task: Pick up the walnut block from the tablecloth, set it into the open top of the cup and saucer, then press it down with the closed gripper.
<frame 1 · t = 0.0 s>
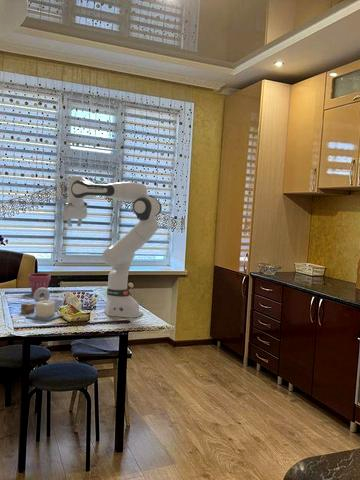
hand: (74, 226, 265), 48 cm above the table, tool pointing down, fingers open, 8 cm apart
donut: (41, 304, 270), on the table
plant pot: (39, 293, 298), on the table
walnut block: (27, 312, 248), on the table
cup and saucer: (45, 317, 240), on the table
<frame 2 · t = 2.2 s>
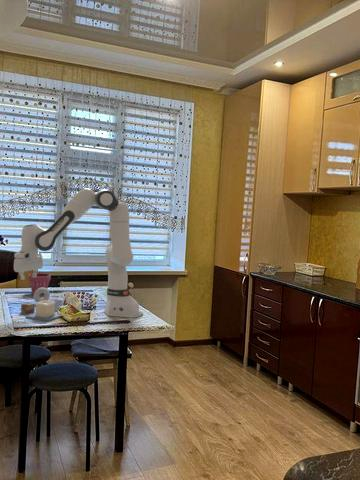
hand: (28, 278, 246), 19 cm above the table, tool pointing down, fingers open, 8 cm apart
nothing on the table moved.
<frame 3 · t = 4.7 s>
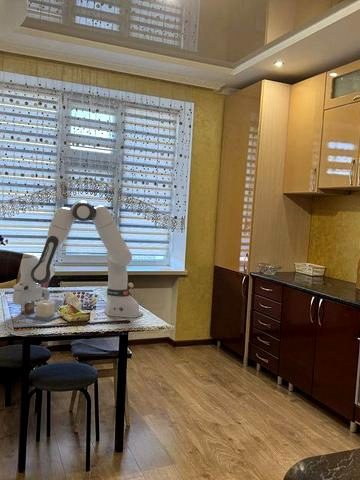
hand: (27, 309, 247), 2 cm above the table, tool pointing down, fingers closed on walnut block, 5 cm apart
walnut block: (27, 312, 247), on the table, touching gripper
everything else where it was.
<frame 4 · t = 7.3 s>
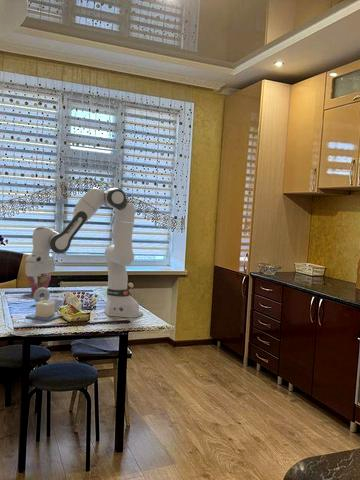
hand: (40, 282, 241), 18 cm above the table, tool pointing down, fingers closed on walnut block, 5 cm apart
walnut block: (40, 285, 242), point 17 cm above the table, touching gripper
everything else where it was.
when the fingers open (9 cm above the table, at t = 9.9 s): walnut block stays where it is, resting on cup and saucer.
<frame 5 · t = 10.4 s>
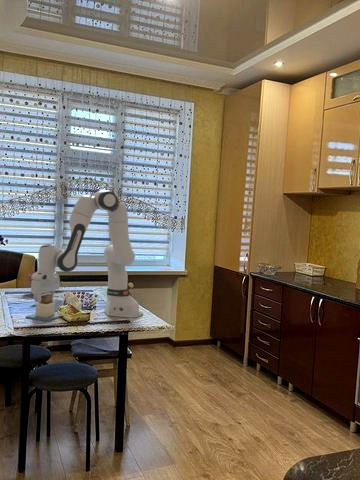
hand: (45, 299, 239), 9 cm above the table, tool pointing down, fingers open, 8 cm apart
walnut block: (45, 304, 239), point 7 cm above the table, touching cup and saucer
everything else where it was.
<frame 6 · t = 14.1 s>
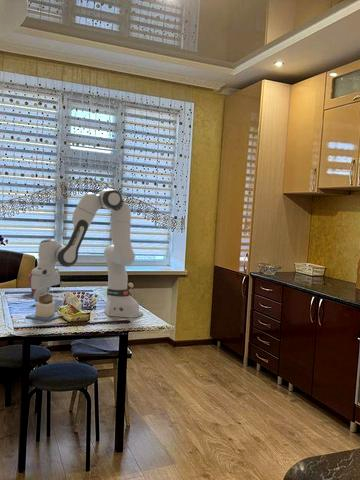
hand: (45, 295, 239), 12 cm above the table, tool pointing down, fingers closed, pressing on walnut block
walnut block: (45, 304, 239), point 7 cm above the table, touching cup and saucer, gripper
everything else where it was.
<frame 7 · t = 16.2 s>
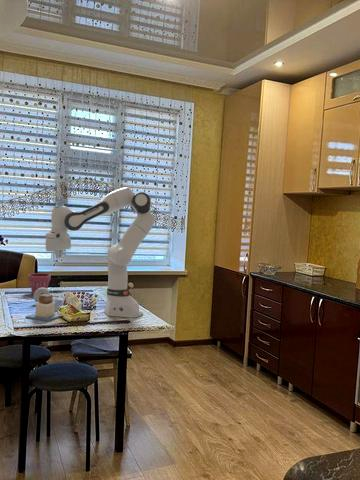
hand: (58, 257, 257), 30 cm above the table, tool pointing down, fingers closed
walnut block: (45, 304, 239), point 7 cm above the table, touching cup and saucer
everything else where it was.
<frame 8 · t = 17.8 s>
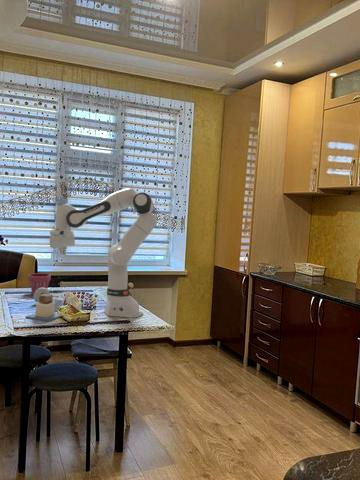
hand: (62, 254, 264), 31 cm above the table, tool pointing down, fingers closed
nothing on the table moved.
at the end: walnut block 0.1 cm off-centre on the cup and saucer, point 7.0 cm above the cup and saucer's base; walnut block tilted 0°; the gripper is holding nothing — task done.
